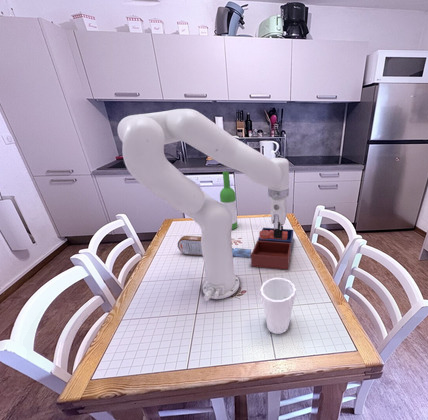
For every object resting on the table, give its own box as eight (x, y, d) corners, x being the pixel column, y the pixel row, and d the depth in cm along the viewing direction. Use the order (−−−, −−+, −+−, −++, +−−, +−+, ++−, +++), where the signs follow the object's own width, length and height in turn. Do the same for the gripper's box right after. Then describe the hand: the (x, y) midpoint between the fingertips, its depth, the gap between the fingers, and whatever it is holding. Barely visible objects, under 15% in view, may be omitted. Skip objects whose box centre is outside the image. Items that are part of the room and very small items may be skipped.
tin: (214, 253, 102) (212, 236, 99) (212, 257, 100) (209, 240, 96) (181, 251, 104) (178, 234, 101) (178, 255, 101) (174, 238, 98)
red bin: (288, 269, 92) (288, 258, 90) (251, 266, 94) (250, 254, 92) (290, 254, 102) (291, 243, 100) (257, 251, 104) (257, 240, 102)
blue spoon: (251, 253, 103) (251, 247, 102) (249, 259, 99) (249, 253, 98) (227, 251, 104) (226, 245, 103) (223, 256, 100) (223, 251, 99)
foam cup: (276, 307, 74) (276, 273, 69) (300, 322, 69) (302, 287, 64) (255, 326, 68) (253, 290, 63) (279, 345, 62) (280, 307, 57)
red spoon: (287, 236, 95) (287, 230, 94) (286, 241, 91) (286, 235, 90) (260, 233, 97) (260, 227, 96) (258, 238, 93) (258, 232, 92)
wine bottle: (239, 228, 124) (235, 172, 112) (224, 231, 121) (219, 174, 109) (235, 222, 130) (231, 169, 119) (221, 225, 127) (216, 170, 116)
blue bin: (291, 252, 103) (291, 241, 101) (258, 249, 105) (257, 239, 103) (293, 239, 114) (293, 229, 112) (263, 237, 116) (263, 227, 113)
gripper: (286, 200, 79) (285, 247, 86) (290, 186, 93) (289, 227, 100) (264, 199, 80) (265, 246, 87) (271, 185, 94) (272, 226, 101)
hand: (278, 236), depth 93 cm, fingers closed on red spoon, 2 cm apart
